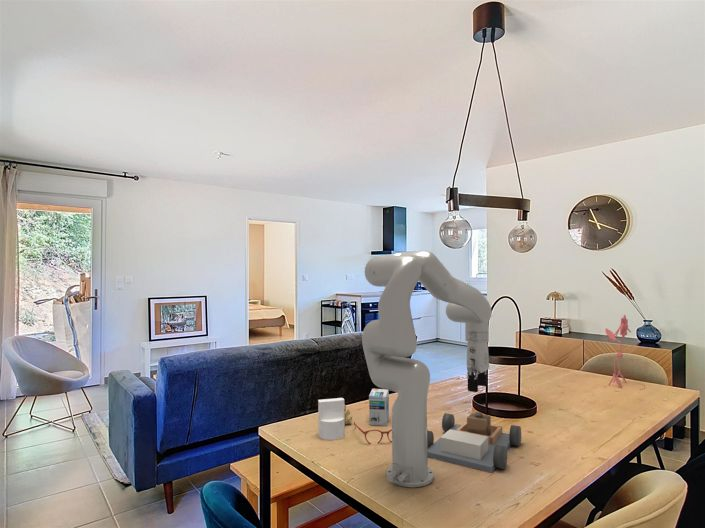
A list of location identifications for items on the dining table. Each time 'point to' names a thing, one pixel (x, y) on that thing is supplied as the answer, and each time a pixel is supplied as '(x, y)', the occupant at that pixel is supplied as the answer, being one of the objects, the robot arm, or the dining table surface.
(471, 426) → the brown rectangular block
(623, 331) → the pink coral sprig
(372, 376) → the robot arm
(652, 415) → the dining table surface
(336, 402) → the cylinder with rectangular tab
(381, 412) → the light bulb box
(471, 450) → the toy car chassis
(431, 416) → the dining table surface
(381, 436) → the red eyeglasses
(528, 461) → the dining table surface
